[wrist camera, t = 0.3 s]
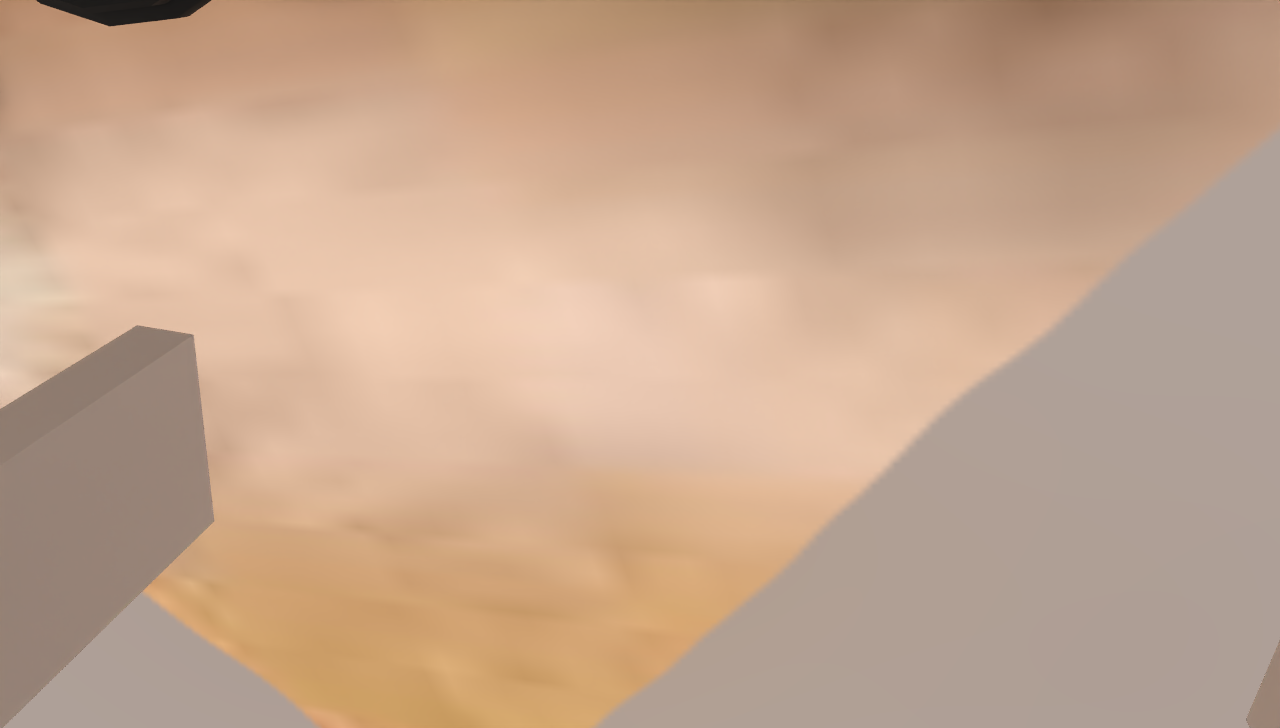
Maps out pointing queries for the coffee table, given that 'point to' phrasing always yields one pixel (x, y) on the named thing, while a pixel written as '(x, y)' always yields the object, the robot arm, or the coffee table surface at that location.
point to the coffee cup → (127, 9)
